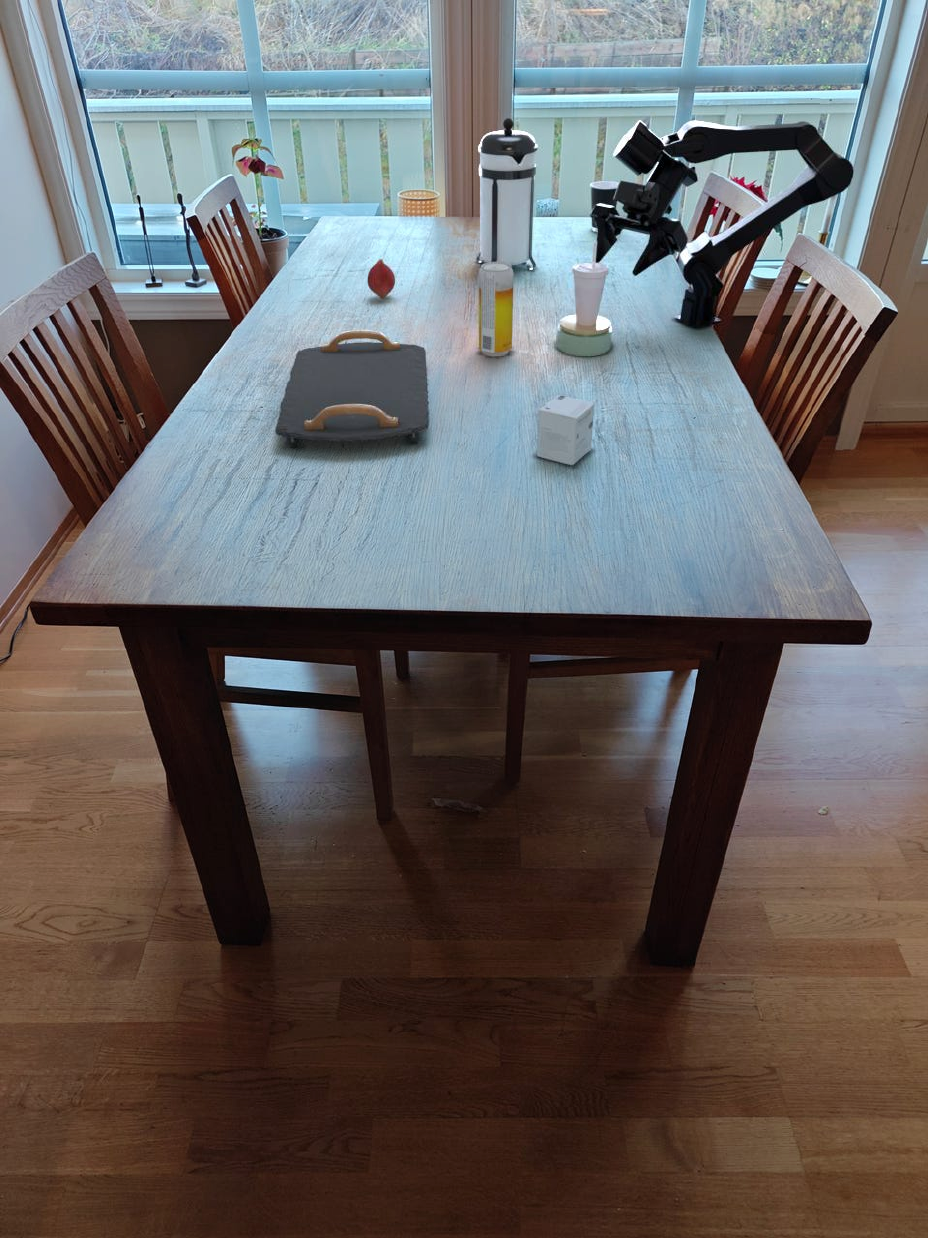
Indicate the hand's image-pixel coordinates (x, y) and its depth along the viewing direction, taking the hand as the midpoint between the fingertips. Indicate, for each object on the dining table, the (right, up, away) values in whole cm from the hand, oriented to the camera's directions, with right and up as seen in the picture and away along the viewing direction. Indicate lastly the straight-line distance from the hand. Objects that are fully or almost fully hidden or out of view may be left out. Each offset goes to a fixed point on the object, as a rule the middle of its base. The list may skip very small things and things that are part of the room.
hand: (613, 268), depth 151 cm
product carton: (-12, -39, -29) cm, 50 cm away
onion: (-44, +5, +28) cm, 53 cm away
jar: (-5, -12, +4) cm, 14 cm away
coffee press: (-18, +20, +46) cm, 54 cm away
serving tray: (-44, -28, -14) cm, 54 cm away
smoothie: (-5, -9, +2) cm, 10 cm away
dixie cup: (+9, +39, +70) cm, 80 cm away
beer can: (-21, -14, +3) cm, 26 cm away
